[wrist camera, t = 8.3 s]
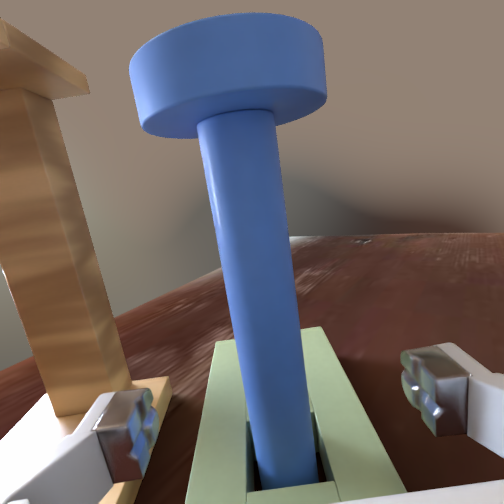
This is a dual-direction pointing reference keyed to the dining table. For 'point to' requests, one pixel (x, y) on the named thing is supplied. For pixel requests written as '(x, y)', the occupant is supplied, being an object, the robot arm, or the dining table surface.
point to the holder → (324, 432)
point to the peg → (247, 197)
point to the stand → (54, 261)
